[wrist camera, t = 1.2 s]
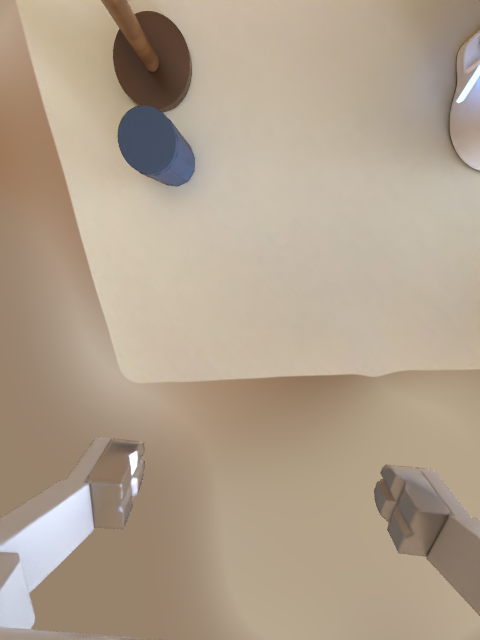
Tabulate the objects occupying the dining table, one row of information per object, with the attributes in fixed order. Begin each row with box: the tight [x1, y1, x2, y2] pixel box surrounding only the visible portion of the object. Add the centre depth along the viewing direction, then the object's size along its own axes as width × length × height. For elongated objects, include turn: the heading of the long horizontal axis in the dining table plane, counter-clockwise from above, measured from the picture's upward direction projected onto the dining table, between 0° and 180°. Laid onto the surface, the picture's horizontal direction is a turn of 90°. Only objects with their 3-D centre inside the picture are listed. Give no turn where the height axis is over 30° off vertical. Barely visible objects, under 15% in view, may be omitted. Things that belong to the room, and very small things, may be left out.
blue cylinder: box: [118, 105, 195, 186], centre depth 31 cm, size 6×6×10 cm
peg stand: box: [101, 0, 192, 112], centre depth 26 cm, size 9×9×14 cm
